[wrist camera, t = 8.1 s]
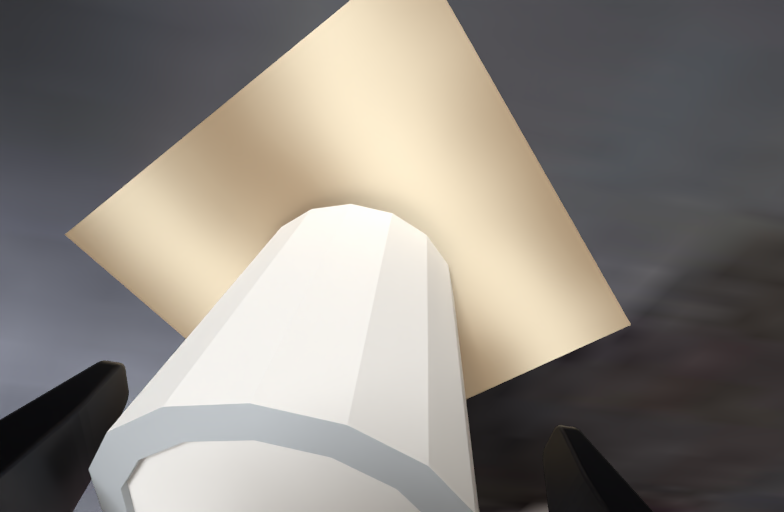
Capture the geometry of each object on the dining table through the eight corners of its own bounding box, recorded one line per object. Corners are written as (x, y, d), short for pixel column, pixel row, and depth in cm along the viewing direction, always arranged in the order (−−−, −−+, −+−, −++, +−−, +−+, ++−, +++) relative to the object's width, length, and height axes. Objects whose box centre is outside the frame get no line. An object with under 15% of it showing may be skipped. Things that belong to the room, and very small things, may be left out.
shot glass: (526, 301, 13) (574, 577, 8) (363, 399, 17) (311, 644, 11) (345, 126, 11) (222, 331, 5) (198, 278, 14) (24, 507, 9)
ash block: (340, 384, 22) (328, 461, 18) (133, 182, 17) (65, 234, 14) (588, 258, 18) (630, 324, 15) (413, -47, 13) (416, -54, 10)
